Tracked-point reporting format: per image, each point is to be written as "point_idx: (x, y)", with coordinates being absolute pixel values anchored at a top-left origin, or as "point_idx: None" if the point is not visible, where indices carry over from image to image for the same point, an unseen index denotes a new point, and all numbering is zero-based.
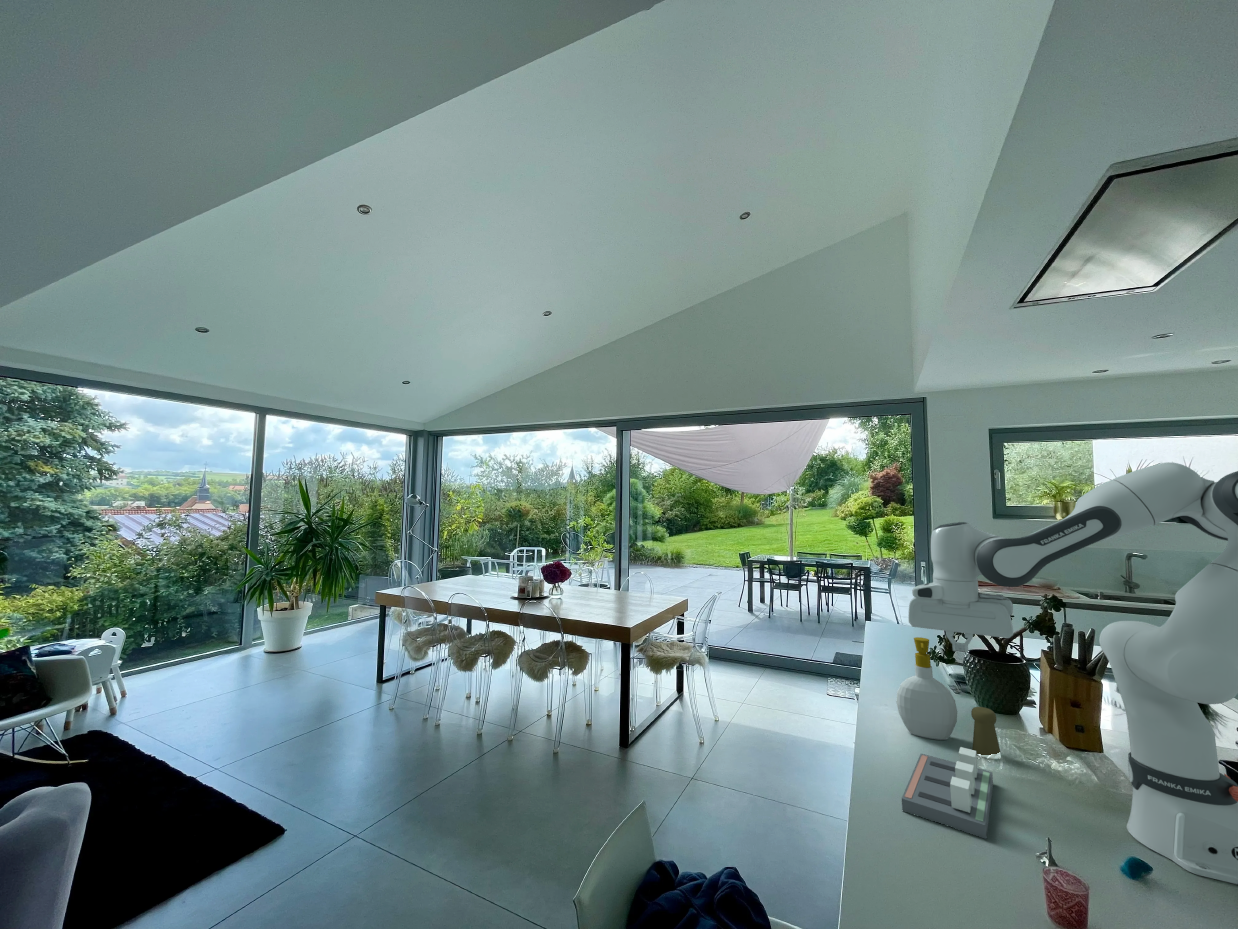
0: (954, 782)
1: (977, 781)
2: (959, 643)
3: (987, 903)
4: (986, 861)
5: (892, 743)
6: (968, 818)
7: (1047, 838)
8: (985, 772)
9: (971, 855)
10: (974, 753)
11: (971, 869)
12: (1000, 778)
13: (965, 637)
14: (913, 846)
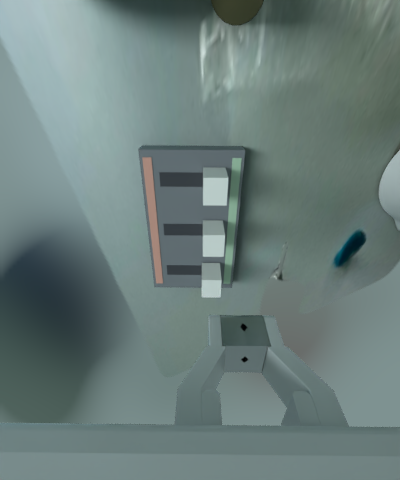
0: (205, 291)
1: None
2: (242, 358)
3: None
4: (229, 305)
5: (72, 80)
6: None
7: (284, 245)
8: (235, 161)
9: (219, 304)
10: (225, 191)
11: None
12: (254, 115)
13: (283, 424)
14: (178, 316)
